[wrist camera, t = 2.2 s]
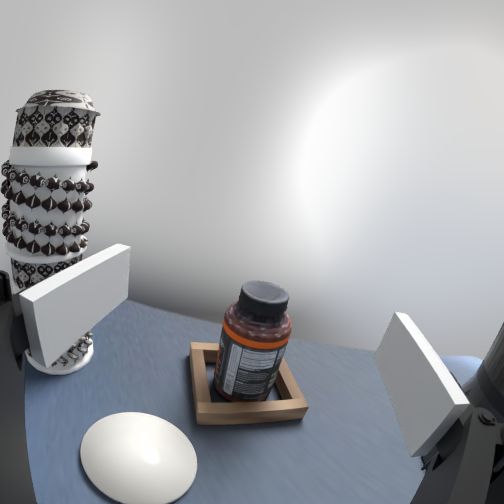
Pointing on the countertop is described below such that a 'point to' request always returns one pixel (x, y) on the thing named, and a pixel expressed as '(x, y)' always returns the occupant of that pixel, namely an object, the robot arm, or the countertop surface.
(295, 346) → the countertop surface
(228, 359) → the supplement bottle
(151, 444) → the white domed disc
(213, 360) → the holder
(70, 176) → the decorative candle
